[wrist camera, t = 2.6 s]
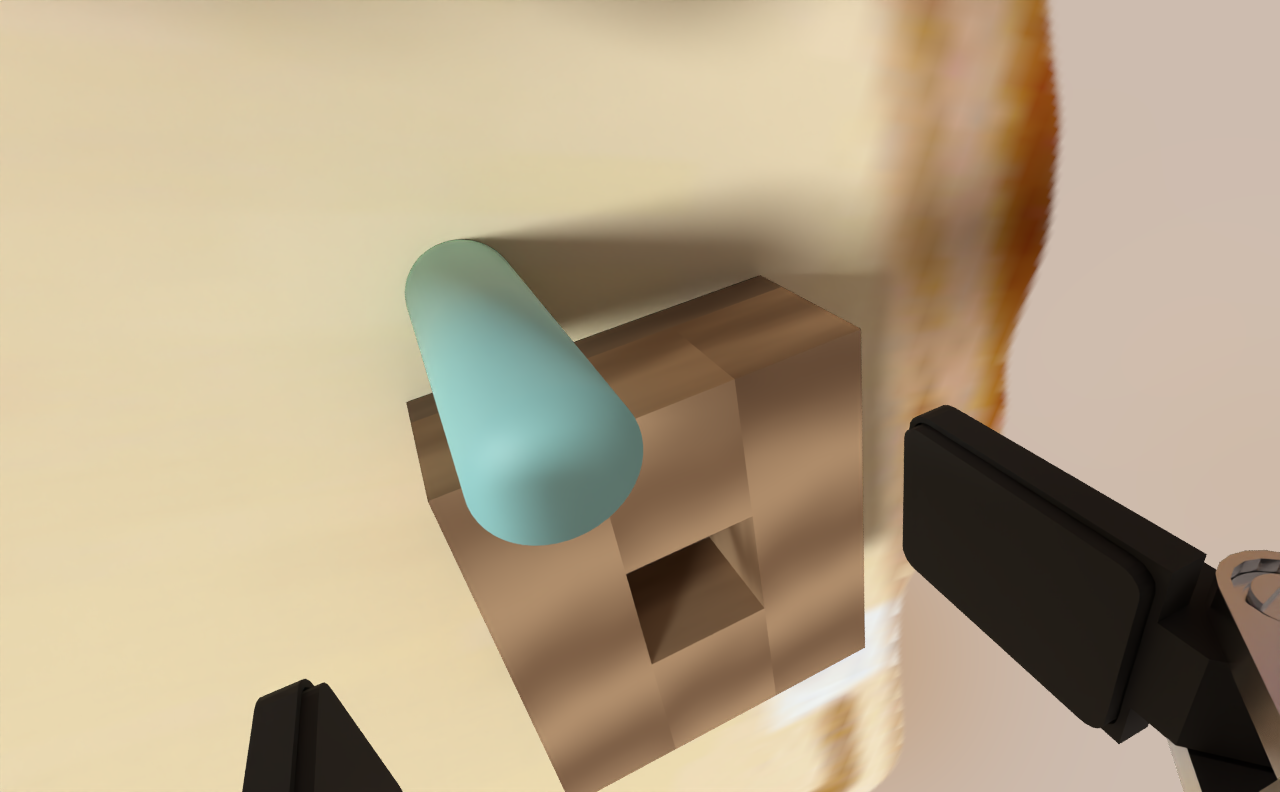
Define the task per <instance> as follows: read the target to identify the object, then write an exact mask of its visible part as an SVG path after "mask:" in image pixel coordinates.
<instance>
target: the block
mask: <svg viewBox="0 0 1280 792" xmlns="http://www.w3.org/2000/svg"><path fill="white" fill-rule="evenodd" d="M574 343H575V345H576V346H577V347H578V348H579V349H580V351H581V352H582V353H583V354H584V355H585V357H586V358H587V359H588V360H589V362H590V363H591V364H592V365H593V366H594V368H595V369H596V370H597V371H598V372H599V374H600V375H601V376H602V377H603V378H604V380H605V381H606V382H607V383H608V385H609V386H610V387H611V388H612V389H613V391H614V392H615V393H616V394H617V395H618V397H619V398H620V399H621V400H622V402H623V403H624V404H625V405H626V406H627V408H628V409H629V410H630V412H631V413H632V414H633V416H634V417H635V419H636V421H637V423H638V425H639V428H640V431H641V434H642V440H643V460H642V466H641V469H640V473H639V476H638V478H637V481H636V483H635V485H634V487H633V489H632V491H631V493H630V494H629V496H628V497H627V498H626V500H625V501H624V503H623V504H622V505H621V506H620V507H619V508H618V509H617V511H616V512H614V513H613V514H612V515H611V516H610V517H609V518H608V519H607V520H605V521H604V522H603V523H601V524H600V525H599V526H597V527H596V528H594V529H592V530H591V531H589V532H587V533H585V534H583V535H581V536H579V537H576V538H573V539H571V540H568V541H564V542H561V543H557V544H550V545H540V546H531V545H521V544H516V543H512V542H508V541H505V540H503V539H501V538H498V537H496V536H494V535H493V534H491V533H490V532H488V531H487V530H485V529H484V528H483V527H482V526H481V525H480V524H479V523H478V522H477V521H476V519H475V518H474V517H473V516H472V514H471V512H470V510H469V508H468V507H467V504H466V501H465V498H464V495H463V492H462V488H461V485H460V482H459V478H458V475H457V472H456V468H455V465H454V462H453V458H452V455H451V452H450V448H449V445H448V442H447V438H446V435H445V432H444V428H443V425H442V422H441V418H440V415H439V412H438V408H437V405H436V402H435V399H434V395H433V393H432V394H429V395H426V396H423V397H420V398H418V399H415V400H412V401H409V402H406V403H407V408H408V412H409V417H410V421H411V426H412V430H413V435H414V440H415V444H416V449H417V453H418V458H419V463H420V467H421V472H422V476H423V481H424V485H425V490H426V495H427V499H428V502H429V505H430V507H431V509H432V511H433V513H434V515H435V517H436V519H437V522H438V524H439V526H440V528H441V530H442V532H443V534H444V536H445V538H446V541H447V543H448V545H449V547H450V549H451V551H452V553H453V555H454V557H455V560H456V562H457V564H458V566H459V568H460V570H461V572H462V574H463V577H464V579H465V581H466V583H467V585H468V587H469V589H470V591H471V593H472V596H473V598H474V600H475V602H476V604H477V606H478V608H479V610H480V613H481V615H482V617H483V619H484V621H485V623H486V625H487V627H488V629H489V632H490V634H491V636H492V638H493V640H494V642H495V644H496V646H497V649H498V651H499V653H500V655H501V657H502V659H503V661H504V663H505V665H506V668H507V670H508V672H509V674H510V676H511V678H512V680H513V682H514V684H515V687H516V689H517V691H518V693H519V695H520V697H521V699H522V701H523V704H524V706H525V708H526V710H527V712H528V714H529V716H530V718H531V720H532V723H533V725H534V727H535V729H536V731H537V733H538V735H539V737H540V740H541V742H542V744H543V746H544V748H545V750H546V752H547V754H548V756H549V759H550V761H551V763H552V765H553V767H554V769H555V771H556V773H557V776H558V778H559V780H560V782H561V784H562V786H563V788H564V790H565V792H597V791H599V790H600V789H602V788H604V787H606V786H608V785H610V784H612V783H613V782H615V781H617V780H619V779H621V778H623V777H625V776H626V775H628V774H630V773H632V772H634V771H636V770H638V769H640V768H641V767H643V766H645V765H647V764H649V763H651V762H653V761H654V760H656V759H658V758H660V757H662V756H664V755H666V754H667V753H669V752H671V751H673V750H675V749H677V748H679V747H680V746H682V745H684V744H686V743H688V742H690V741H692V740H694V739H695V738H697V737H699V736H701V735H703V734H705V733H707V732H708V731H710V730H712V729H714V728H716V727H718V726H720V725H721V724H723V723H725V722H727V721H729V720H731V719H733V718H735V717H736V716H738V715H740V714H742V713H744V712H746V711H748V710H749V709H751V708H753V707H755V706H757V705H759V704H761V703H762V702H764V701H766V700H768V699H770V698H772V697H774V696H775V695H777V694H779V693H781V692H783V691H785V690H787V689H789V688H790V687H792V686H794V685H796V684H798V683H800V682H802V681H803V680H805V679H807V678H809V677H811V676H813V675H815V674H816V673H818V672H820V671H822V670H824V669H826V668H828V667H830V666H831V665H833V664H835V663H837V662H839V661H841V660H843V659H844V658H846V657H848V656H850V655H852V654H854V653H856V652H857V651H859V650H861V649H863V648H865V624H864V541H863V458H862V375H861V329H860V328H858V327H856V326H854V325H853V324H851V323H849V322H847V321H845V320H843V319H841V318H839V317H838V316H836V315H834V314H832V313H830V312H828V311H826V310H824V309H823V308H821V307H819V306H817V305H815V304H813V303H811V302H809V301H808V300H806V299H804V298H802V297H800V296H798V295H796V294H794V293H793V292H791V291H789V290H787V289H785V288H783V287H781V286H779V285H778V284H776V283H774V282H772V281H770V280H768V279H766V278H764V277H763V276H761V275H760V276H757V277H755V278H752V279H749V280H746V281H743V282H741V283H738V284H735V285H732V286H730V287H727V288H724V289H721V290H718V291H716V292H713V293H710V294H707V295H704V296H702V297H699V298H696V299H693V300H691V301H688V302H685V303H682V304H679V305H677V306H674V307H671V308H668V309H666V310H663V311H660V312H657V313H654V314H652V315H649V316H646V317H643V318H640V319H638V320H635V321H632V322H629V323H627V324H624V325H621V326H618V327H615V328H613V329H610V330H607V331H604V332H601V333H599V334H596V335H593V336H590V337H588V338H585V339H582V340H579V341H576V342H574Z"/></svg>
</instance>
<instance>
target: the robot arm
mask: <svg viewBox="0 0 1280 792" xmlns="http://www.w3.org/2000/svg"><path fill="white" fill-rule="evenodd" d="M903 551H904V554H905V556H906V558H907V560H908V562H909V563H910V564H911V566H912V567H913V568H914V569H915V570H916V571H917V572H919V573H920V574H921V575H922V576H923V577H924V578H925V579H926V580H927V581H929V582H930V583H931V584H932V585H933V586H934V587H935V588H936V589H937V590H938V591H939V592H941V593H942V594H943V595H944V596H945V597H946V598H947V599H948V600H949V601H950V602H952V603H953V604H954V605H955V606H956V607H957V608H958V609H959V610H960V611H961V612H963V613H964V614H965V615H966V616H967V617H968V618H969V619H970V620H971V621H972V622H974V623H975V624H976V625H977V626H978V627H979V628H980V629H981V630H982V631H983V632H985V633H986V634H987V635H988V636H989V637H990V638H991V639H992V640H993V641H994V642H996V643H997V644H998V645H999V646H1000V647H1001V648H1002V649H1003V650H1004V651H1005V652H1007V653H1008V654H1009V655H1010V656H1011V657H1012V658H1013V659H1014V660H1015V661H1016V662H1018V663H1019V664H1020V665H1021V666H1022V667H1023V668H1024V669H1025V670H1026V671H1027V672H1029V673H1030V674H1031V675H1032V676H1033V677H1034V678H1035V679H1036V680H1037V681H1038V682H1040V683H1041V684H1042V685H1043V686H1044V687H1045V688H1046V689H1047V690H1048V691H1050V692H1051V693H1052V694H1053V695H1054V696H1055V697H1056V698H1057V699H1058V700H1059V701H1060V702H1062V703H1063V704H1064V705H1065V706H1066V707H1067V708H1068V709H1069V710H1071V712H1073V713H1074V714H1075V715H1076V716H1077V717H1078V718H1079V719H1080V720H1082V721H1083V722H1084V723H1086V724H1087V725H1089V726H1091V727H1094V728H1102V729H1103V730H1104V731H1105V732H1106V733H1107V734H1108V735H1109V736H1110V737H1112V738H1113V739H1114V740H1115V741H1116V742H1117V743H1118V744H1120V743H1122V742H1123V741H1125V740H1127V739H1128V738H1130V737H1132V736H1133V735H1135V734H1136V733H1138V732H1140V731H1141V730H1143V729H1145V728H1146V727H1148V724H1151V725H1152V726H1153V727H1154V728H1156V729H1157V730H1158V731H1159V732H1160V733H1161V734H1162V735H1164V736H1165V737H1166V738H1167V740H1168V743H1169V746H1170V750H1171V753H1172V756H1173V759H1174V763H1175V765H1176V769H1177V772H1178V775H1179V778H1180V781H1181V784H1182V787H1183V791H1184V792H1280V552H1274V551H1268V550H1254V551H1253V550H1251V551H1250V550H1249V551H1242V552H1239V553H1235V554H1231V555H1229V556H1228V557H1226V558H1225V559H1223V560H1222V561H1221V562H1220V563H1219V565H1218V568H1217V570H1216V569H1214V568H1213V567H1211V566H1209V565H1208V564H1206V563H1204V560H1205V558H1206V554H1205V553H1203V552H1202V551H1200V550H1198V549H1197V548H1195V547H1193V546H1191V545H1190V544H1188V543H1186V542H1185V541H1183V540H1181V539H1179V538H1178V537H1176V536H1174V535H1172V534H1171V533H1169V532H1167V531H1166V530H1164V529H1162V528H1161V527H1159V526H1157V525H1155V524H1154V523H1152V522H1150V521H1148V520H1147V519H1145V518H1143V517H1142V516H1140V515H1138V514H1136V513H1135V512H1133V511H1131V510H1130V509H1128V508H1126V507H1124V506H1123V505H1121V504H1119V503H1118V502H1116V501H1114V500H1112V499H1111V498H1109V497H1107V496H1106V495H1104V494H1102V493H1100V492H1099V491H1097V490H1095V489H1094V488H1092V487H1090V486H1088V485H1087V484H1085V483H1083V482H1082V481H1080V480H1078V479H1076V478H1075V477H1073V476H1071V475H1070V474H1068V473H1066V472H1064V471H1063V470H1061V469H1059V468H1058V467H1056V466H1054V465H1052V464H1051V463H1049V462H1047V461H1046V460H1044V459H1042V458H1040V457H1039V456H1037V455H1035V454H1033V453H1032V452H1030V451H1028V450H1027V449H1025V448H1023V447H1021V446H1020V445H1018V444H1016V443H1015V442H1013V441H1011V440H1009V439H1008V438H1006V437H1004V436H1003V435H1001V434H999V433H997V432H996V431H994V430H992V429H991V428H989V427H987V426H985V425H984V424H982V423H980V422H979V421H977V420H975V419H973V418H972V417H970V416H968V415H967V414H965V413H963V412H961V411H960V410H958V409H956V408H954V407H952V406H949V405H943V406H940V407H938V408H936V409H933V410H931V411H929V412H926V413H924V414H922V415H919V416H917V417H915V418H913V419H912V421H911V422H910V428H909V430H907V432H906V433H905V437H904V497H903ZM242 792H402V790H401V788H400V786H399V785H398V783H397V782H396V780H395V779H394V778H393V776H392V775H391V773H390V772H389V770H388V769H387V768H386V766H385V765H384V763H383V762H382V760H381V759H380V758H379V756H378V755H377V753H376V752H375V750H374V749H373V748H372V746H371V745H370V743H369V742H368V740H367V739H366V738H365V736H364V735H363V733H362V732H361V731H360V729H359V728H358V726H357V725H356V723H355V722H354V721H353V719H352V718H351V716H350V715H349V713H348V712H347V711H346V709H345V708H344V706H343V705H342V703H341V702H340V701H339V699H338V698H337V696H336V695H335V693H334V692H333V691H332V689H331V688H330V687H329V685H328V684H326V683H321V684H319V685H317V686H314V685H313V684H312V683H311V682H310V681H309V680H307V679H303V680H300V681H298V682H295V683H293V684H291V685H288V686H286V687H284V688H281V689H279V690H277V691H274V692H272V693H270V694H267V695H265V696H263V697H260V698H259V699H258V701H257V702H256V705H255V709H254V715H253V722H252V729H251V736H250V743H249V750H248V756H247V763H246V770H245V777H244V784H243V791H242Z"/></svg>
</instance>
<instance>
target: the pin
mask: <svg viewBox="0 0 1280 792" xmlns="http://www.w3.org/2000/svg"><path fill="white" fill-rule="evenodd" d="M405 300H406V305H407V309H408V312H409V315H410V319H411V322H412V325H413V329H414V332H415V335H416V339H417V342H418V345H419V349H420V352H421V355H422V359H423V362H424V365H425V369H426V372H427V375H428V379H429V382H430V385H431V389H432V392H433V395H434V399H435V402H436V405H437V408H438V412H439V415H440V418H441V422H442V425H443V428H444V432H445V435H446V438H447V442H448V445H449V448H450V452H451V455H452V458H453V462H454V465H455V468H456V472H457V475H458V478H459V482H460V485H461V488H462V492H463V495H464V498H465V501H466V504H467V507H468V508H469V510H470V512H471V514H472V516H473V517H474V518H475V519H476V521H477V522H478V523H479V524H480V525H481V526H482V527H483V528H484V529H485V530H487V531H488V532H490V533H491V534H493V535H494V536H496V537H498V538H501V539H503V540H505V541H508V542H512V543H516V544H521V545H531V546H540V545H550V544H557V543H561V542H564V541H568V540H571V539H573V538H576V537H579V536H581V535H583V534H585V533H587V532H589V531H591V530H592V529H594V528H596V527H597V526H599V525H600V524H601V523H603V522H604V521H605V520H607V519H608V518H609V517H610V516H611V515H612V514H613V513H614V512H616V511H617V509H618V508H619V507H620V506H621V505H622V504H623V503H624V501H625V500H626V498H627V497H628V496H629V494H630V493H631V491H632V489H633V487H634V485H635V483H636V481H637V478H638V476H639V473H640V469H641V466H642V460H643V440H642V434H641V431H640V428H639V425H638V423H637V421H636V419H635V417H634V416H633V414H632V413H631V412H630V410H629V409H628V408H627V406H626V405H625V404H624V403H623V402H622V400H621V399H620V398H619V397H618V395H617V394H616V393H615V392H614V391H613V389H612V388H611V387H610V386H609V385H608V383H607V382H606V381H605V380H604V378H603V377H602V376H601V375H600V374H599V372H598V371H597V370H596V369H595V368H594V366H593V365H592V364H591V363H590V362H589V360H588V359H587V358H586V357H585V355H584V354H583V353H582V352H581V351H580V349H579V348H578V347H577V346H576V345H575V343H574V342H573V341H572V340H571V338H570V337H569V336H568V335H567V334H566V332H565V331H564V330H563V329H562V328H561V326H560V325H559V324H558V323H557V322H556V320H555V319H554V318H553V317H552V315H551V314H550V313H549V312H548V311H547V309H546V308H545V307H544V306H543V305H542V303H541V302H540V301H539V300H538V298H537V297H536V296H535V295H534V294H533V292H532V291H531V290H530V289H529V288H528V286H527V285H526V284H525V283H524V282H523V280H522V279H521V278H520V277H519V275H518V274H517V273H516V272H515V271H514V269H513V268H512V267H511V266H510V265H509V263H508V262H507V261H506V260H505V259H504V258H503V257H502V255H501V254H499V253H498V252H497V251H496V250H494V249H493V248H491V247H489V246H487V245H485V244H483V243H480V242H476V241H472V240H451V241H447V242H443V243H441V244H438V245H436V246H434V247H432V248H430V249H429V250H427V251H426V252H425V253H424V254H423V255H421V256H420V257H419V258H418V260H417V261H416V262H415V263H414V265H413V267H412V268H411V270H410V272H409V275H408V277H407V281H406V286H405Z"/></svg>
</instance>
